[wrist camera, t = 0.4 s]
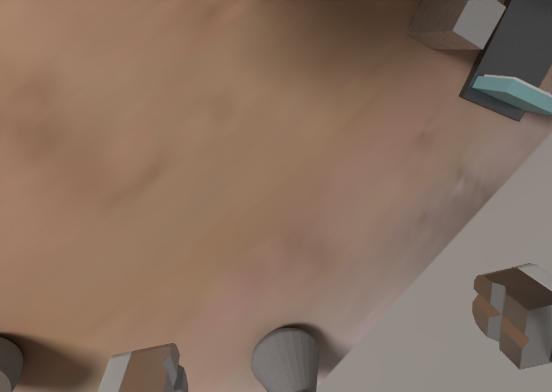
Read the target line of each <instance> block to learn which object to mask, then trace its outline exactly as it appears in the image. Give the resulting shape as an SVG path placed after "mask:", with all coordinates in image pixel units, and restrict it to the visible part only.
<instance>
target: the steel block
mask: <svg viewBox="0 0 552 392" xmlns="http://www.w3.org/2000/svg"><path fill="white" fill-rule="evenodd" d="M505 9H506V7H505V6H504V5H503V4H501V3H500V2H498V1H497V0H422V2H421V4H420V6H419V8H418V10H417V12H416V14H415V16H414V18H413V20H412V22H411V24H410V26H409V28H408V30H407V32H406V34H407V35H409V36H410V37H412V38H414V39H415V40H417V41H419V42H421V43H422V44H424V45H426V46H427V47H429V48H431V49H478V50H483V48H484V46H485V44H486V43H487V41H488V39H489V37H490V35H491V34H492V32H493V30H494V28H495V26H496V25H497V23H498V21H499V19H500V17H501V16H502V14H503V12H504V10H505Z"/></svg>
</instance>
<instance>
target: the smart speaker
mask: <svg viewBox="0 0 552 392" xmlns="http://www.w3.org/2000/svg"><path fill="white" fill-rule="evenodd" d="M22 369H23V356H22V353H21V351H20V349H19V348H18V347H17V346H16V345H15V344H14V343H12V342H11V341H9V340H7V339H4V338H1V337H0V392H12V391H13V390H14V388H15V386H16V384H17V383H18V381H19V378H20V376H21V373H22Z"/></svg>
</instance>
